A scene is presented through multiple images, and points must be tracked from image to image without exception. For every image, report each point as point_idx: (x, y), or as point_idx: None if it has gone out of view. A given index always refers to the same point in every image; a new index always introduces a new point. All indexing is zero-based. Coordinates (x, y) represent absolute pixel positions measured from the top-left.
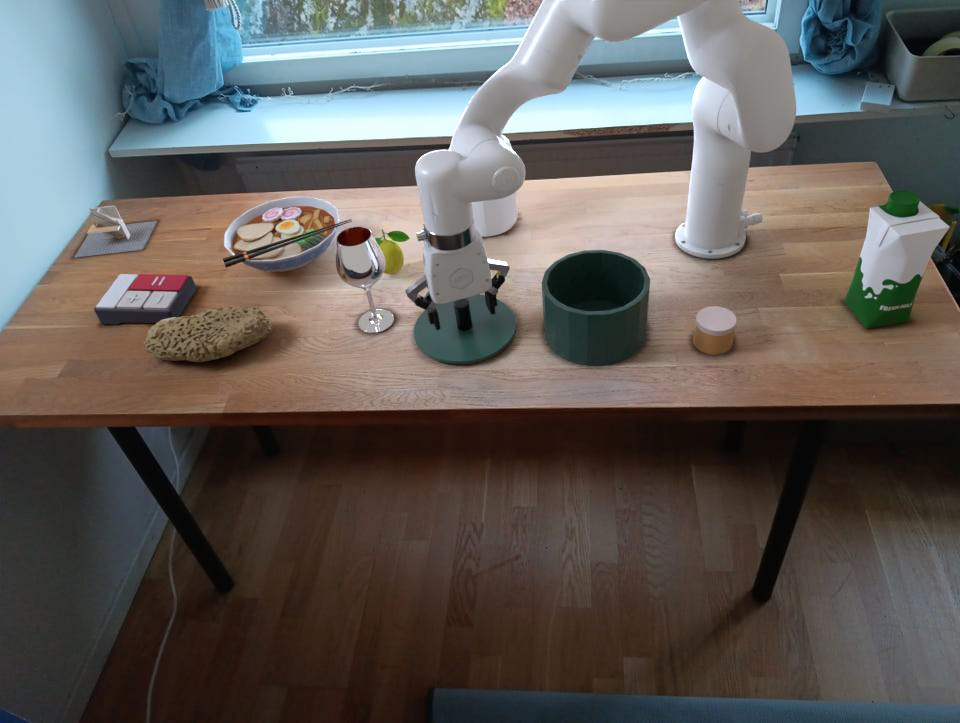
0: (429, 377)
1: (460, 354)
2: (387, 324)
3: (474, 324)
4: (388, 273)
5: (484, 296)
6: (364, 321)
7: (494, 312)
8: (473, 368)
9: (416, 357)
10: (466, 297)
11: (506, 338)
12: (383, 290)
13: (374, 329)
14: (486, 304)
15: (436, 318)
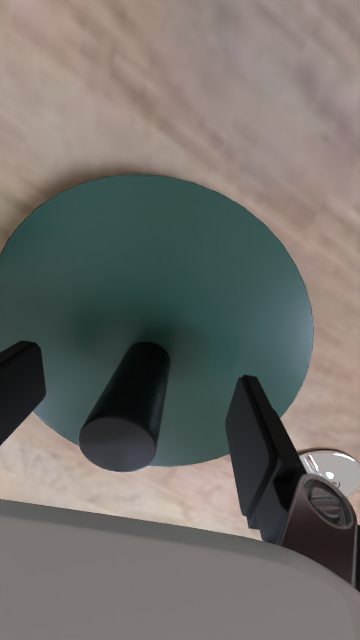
0: (353, 222)
1: (222, 244)
2: (307, 461)
3: (118, 351)
4: None
5: (57, 427)
6: (340, 490)
7: (19, 344)
8: (203, 175)
9: (322, 331)
10: (19, 512)
11: (37, 230)
12: (248, 529)
13: (341, 463)
14: (40, 394)
15: (270, 422)
